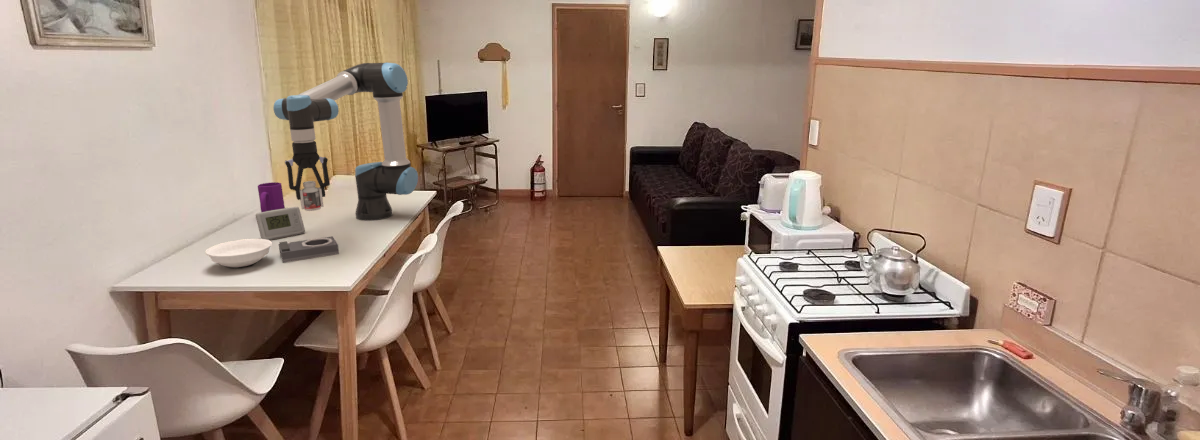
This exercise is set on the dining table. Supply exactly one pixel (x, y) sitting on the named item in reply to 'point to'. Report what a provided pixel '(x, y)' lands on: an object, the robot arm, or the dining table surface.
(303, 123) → the robot arm
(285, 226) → the digital clock
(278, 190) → the mug
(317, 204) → the pill bottle
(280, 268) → the dining table surface
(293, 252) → the octagonal hole plate
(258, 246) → the bowl
